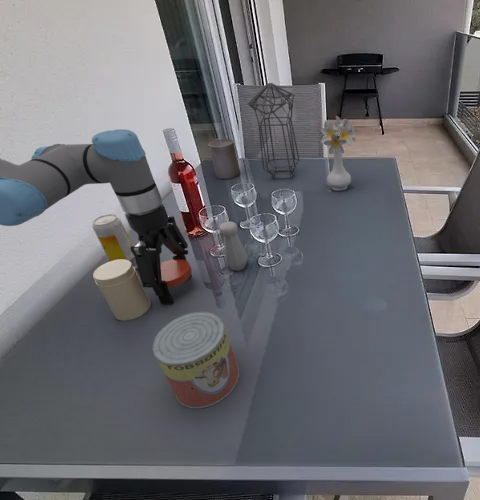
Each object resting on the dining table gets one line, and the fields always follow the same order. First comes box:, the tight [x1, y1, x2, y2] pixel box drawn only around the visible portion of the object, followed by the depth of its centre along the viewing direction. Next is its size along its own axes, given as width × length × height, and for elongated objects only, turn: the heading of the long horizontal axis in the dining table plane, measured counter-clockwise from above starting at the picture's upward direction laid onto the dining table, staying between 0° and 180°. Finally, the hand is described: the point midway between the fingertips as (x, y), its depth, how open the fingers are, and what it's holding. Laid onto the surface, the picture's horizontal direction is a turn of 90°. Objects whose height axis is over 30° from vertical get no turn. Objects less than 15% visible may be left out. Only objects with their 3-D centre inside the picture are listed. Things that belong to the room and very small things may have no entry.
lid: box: [155, 258, 193, 289], centre depth 83 cm, size 9×9×2 cm
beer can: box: [92, 213, 138, 270], centre depth 90 cm, size 6×6×15 cm
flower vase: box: [319, 115, 357, 192], centre depth 125 cm, size 13×18×25 cm
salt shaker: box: [219, 221, 249, 272], centre depth 90 cm, size 6×6×13 cm
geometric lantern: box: [247, 82, 300, 180], centre depth 135 cm, size 16×16×35 cm
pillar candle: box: [207, 138, 241, 180], centre depth 142 cm, size 10×10×15 cm
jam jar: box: [92, 259, 152, 322], centre depth 77 cm, size 8×8×12 cm
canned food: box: [151, 311, 240, 410], centre depth 61 cm, size 11×11×12 cm
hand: (177, 289), depth 86 cm, fingers closed on lid, 9 cm apart
